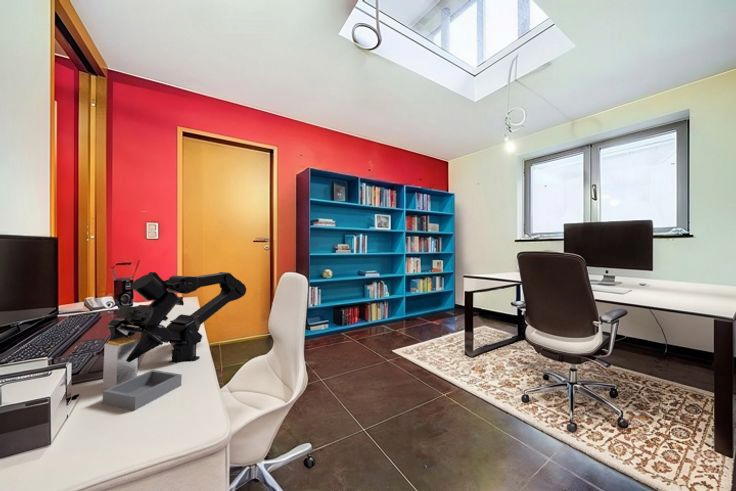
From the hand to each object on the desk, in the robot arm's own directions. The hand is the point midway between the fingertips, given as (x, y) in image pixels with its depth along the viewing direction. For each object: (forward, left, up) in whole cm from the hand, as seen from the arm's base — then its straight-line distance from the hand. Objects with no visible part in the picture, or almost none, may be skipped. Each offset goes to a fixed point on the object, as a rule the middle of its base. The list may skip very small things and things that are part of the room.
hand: (115, 359), depth 73 cm
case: (+1, +11, -8) cm, 14 cm away
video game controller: (-30, -11, -9) cm, 33 cm away
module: (-1, 0, -8) cm, 8 cm away
